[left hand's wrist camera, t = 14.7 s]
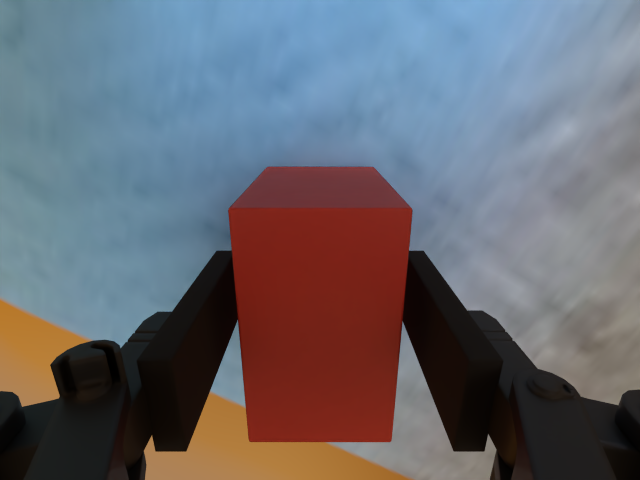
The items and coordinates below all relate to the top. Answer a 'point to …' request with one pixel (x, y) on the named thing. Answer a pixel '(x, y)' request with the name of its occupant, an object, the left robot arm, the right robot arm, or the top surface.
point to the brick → (320, 302)
